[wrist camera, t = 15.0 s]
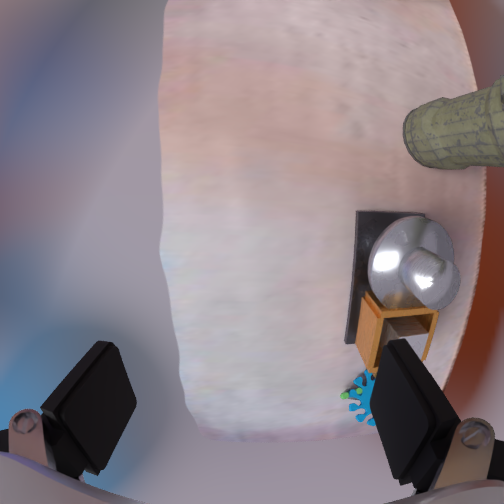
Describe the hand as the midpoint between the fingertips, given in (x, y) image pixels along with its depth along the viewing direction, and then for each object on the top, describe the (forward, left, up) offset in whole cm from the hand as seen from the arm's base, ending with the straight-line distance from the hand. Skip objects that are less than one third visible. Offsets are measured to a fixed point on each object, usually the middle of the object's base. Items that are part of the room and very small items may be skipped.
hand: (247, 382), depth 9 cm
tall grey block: (+12, +17, -27) cm, 34 cm away
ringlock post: (+8, +17, -28) cm, 34 cm away
